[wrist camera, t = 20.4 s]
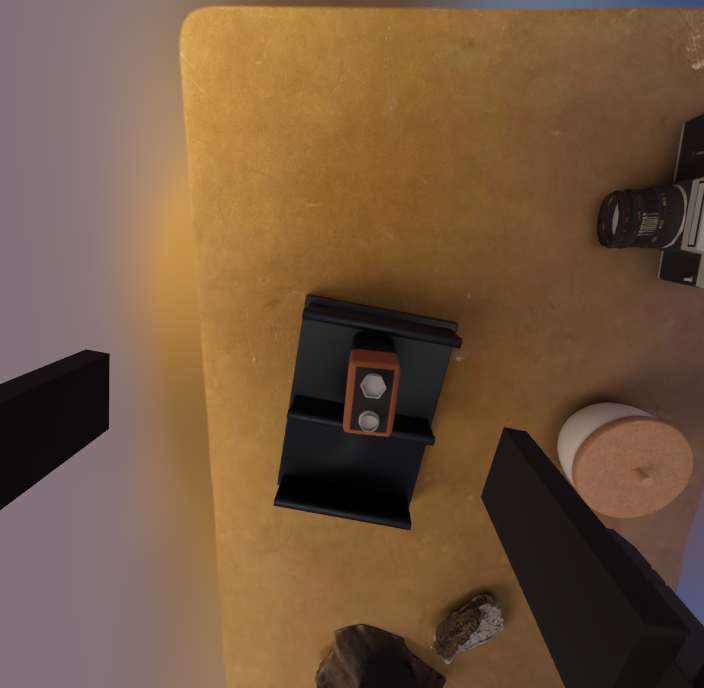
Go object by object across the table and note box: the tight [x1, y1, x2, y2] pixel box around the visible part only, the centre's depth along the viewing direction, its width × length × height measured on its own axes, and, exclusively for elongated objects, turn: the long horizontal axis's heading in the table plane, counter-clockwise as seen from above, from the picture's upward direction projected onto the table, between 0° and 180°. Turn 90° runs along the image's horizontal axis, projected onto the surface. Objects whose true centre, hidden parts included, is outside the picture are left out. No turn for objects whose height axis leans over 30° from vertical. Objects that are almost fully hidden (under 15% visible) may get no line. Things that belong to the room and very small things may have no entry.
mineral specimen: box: [315, 625, 446, 688], centre depth 52 cm, size 12×13×15 cm
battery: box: [343, 335, 401, 437], centre depth 36 cm, size 4×7×10 cm, turn 174°
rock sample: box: [430, 594, 504, 664], centre depth 49 cm, size 10×8×9 cm
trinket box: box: [557, 403, 693, 518], centre depth 39 cm, size 11×11×9 cm
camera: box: [597, 114, 704, 288], centre depth 32 cm, size 15×11×10 cm
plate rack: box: [274, 294, 462, 530], centre depth 41 cm, size 16×23×6 cm
